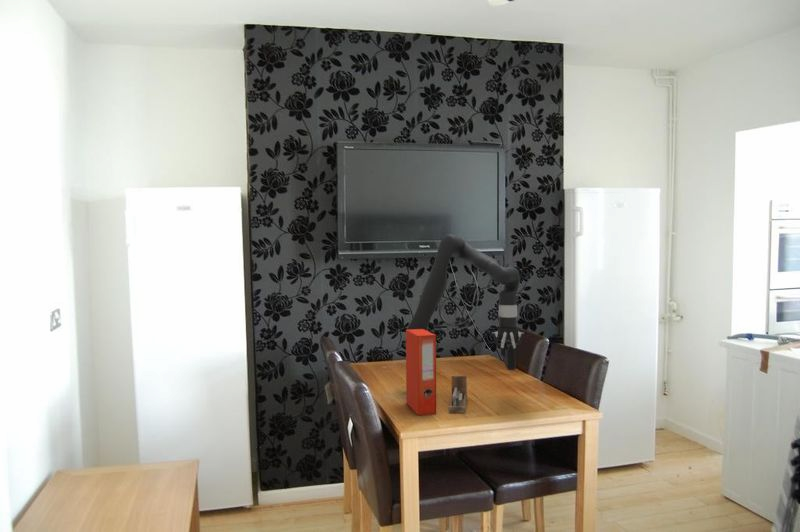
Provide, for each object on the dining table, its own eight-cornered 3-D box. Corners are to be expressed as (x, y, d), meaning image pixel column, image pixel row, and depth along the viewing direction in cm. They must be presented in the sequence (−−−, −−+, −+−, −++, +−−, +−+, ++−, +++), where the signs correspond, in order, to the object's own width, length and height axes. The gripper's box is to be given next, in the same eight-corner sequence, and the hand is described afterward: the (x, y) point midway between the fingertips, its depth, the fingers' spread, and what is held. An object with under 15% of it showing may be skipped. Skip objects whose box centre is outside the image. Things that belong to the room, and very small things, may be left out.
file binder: (424, 402, 246) (423, 328, 245) (437, 413, 229) (435, 334, 228) (406, 404, 244) (405, 329, 243) (417, 415, 227) (416, 336, 226)
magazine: (516, 351, 218) (509, 318, 246) (507, 351, 218) (502, 318, 246) (515, 390, 223) (509, 353, 252) (506, 390, 224) (501, 353, 252)
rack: (448, 413, 230) (448, 388, 229) (452, 398, 252) (451, 375, 251) (465, 413, 229) (464, 388, 228) (466, 398, 251) (466, 375, 250)
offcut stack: (453, 410, 234) (452, 396, 233) (455, 401, 247) (454, 387, 247) (461, 410, 233) (461, 396, 233) (462, 401, 247) (462, 387, 247)
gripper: (524, 314, 238) (524, 355, 239) (490, 314, 240) (490, 354, 241) (526, 316, 231) (526, 358, 232) (490, 316, 233) (491, 358, 234)
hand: (508, 356), depth 236 cm, fingers closed on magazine, 3 cm apart
